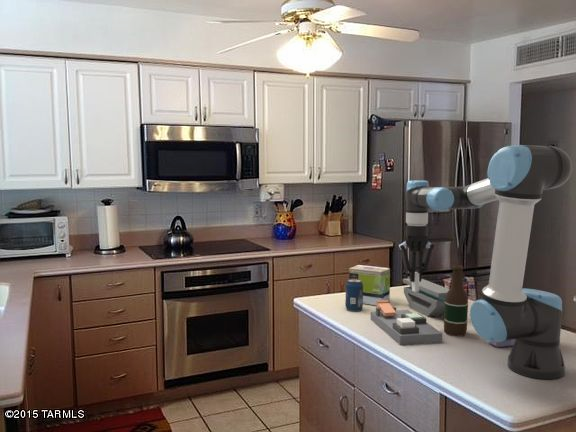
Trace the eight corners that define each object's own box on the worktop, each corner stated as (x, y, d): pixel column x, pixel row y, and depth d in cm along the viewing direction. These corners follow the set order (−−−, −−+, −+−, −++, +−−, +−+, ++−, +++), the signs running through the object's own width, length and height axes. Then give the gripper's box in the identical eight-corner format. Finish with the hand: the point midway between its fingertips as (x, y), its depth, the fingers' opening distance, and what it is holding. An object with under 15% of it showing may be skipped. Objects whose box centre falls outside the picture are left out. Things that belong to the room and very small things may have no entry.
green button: (422, 322, 188) (422, 316, 188) (410, 323, 187) (410, 317, 187) (416, 318, 193) (417, 313, 192) (404, 319, 192) (405, 313, 191)
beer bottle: (468, 337, 182) (471, 268, 180) (444, 335, 184) (447, 267, 181) (465, 330, 190) (468, 264, 187) (442, 328, 191) (445, 263, 189)
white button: (414, 327, 178) (415, 321, 178) (402, 328, 177) (402, 322, 177) (409, 323, 182) (409, 317, 182) (396, 324, 181) (396, 318, 181)
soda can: (346, 306, 219) (347, 277, 218) (363, 307, 217) (364, 279, 216) (343, 311, 213) (344, 281, 211) (361, 312, 211) (361, 282, 209)
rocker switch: (395, 315, 194) (396, 311, 193) (384, 316, 193) (384, 311, 192) (386, 304, 202) (387, 299, 201) (375, 304, 201) (376, 300, 200)
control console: (442, 342, 177) (443, 325, 177) (400, 344, 174) (400, 327, 174) (407, 317, 205) (408, 302, 204) (370, 319, 202) (370, 304, 201)
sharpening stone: (401, 304, 223) (402, 278, 222) (418, 302, 226) (418, 277, 224) (437, 321, 200) (438, 293, 198) (455, 319, 202) (456, 291, 201)
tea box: (390, 301, 227) (391, 267, 225) (381, 307, 219) (381, 271, 217) (357, 296, 235) (358, 263, 233) (347, 301, 226) (348, 267, 225)
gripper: (429, 223, 191) (427, 287, 193) (395, 223, 189) (393, 289, 191) (439, 225, 184) (437, 292, 186) (403, 226, 181) (402, 294, 183)
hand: (415, 290), depth 188 cm, fingers closed
